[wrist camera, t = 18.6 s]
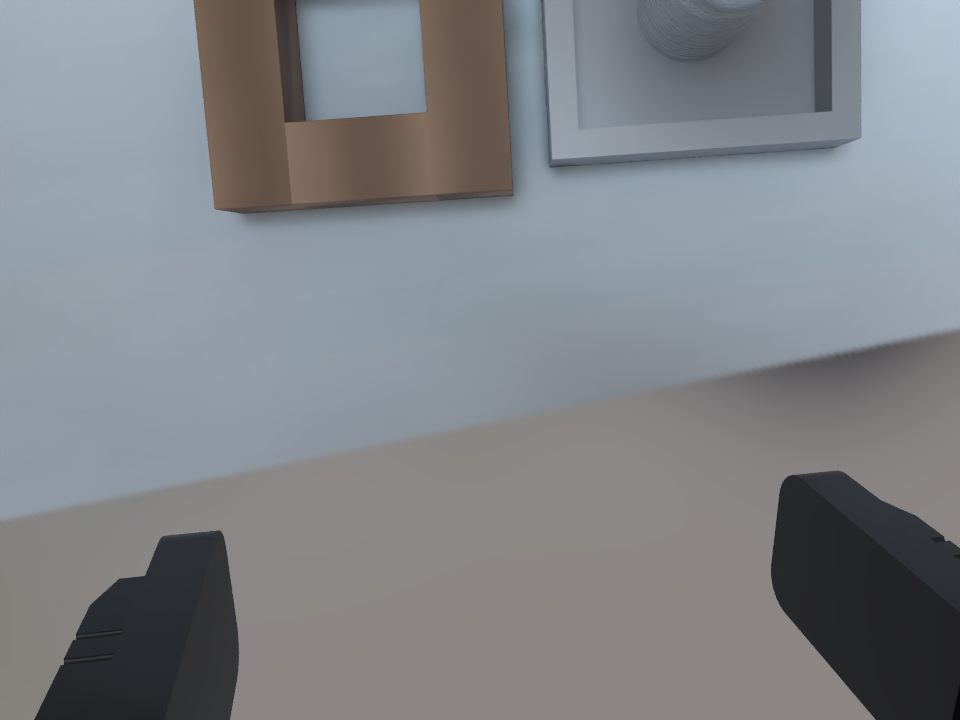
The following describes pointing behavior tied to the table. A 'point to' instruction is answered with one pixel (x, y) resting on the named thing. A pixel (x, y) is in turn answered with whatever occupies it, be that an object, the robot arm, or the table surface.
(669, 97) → the grey tray
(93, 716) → the robot arm
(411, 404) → the table surface
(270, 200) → the walnut block
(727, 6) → the steel pin
